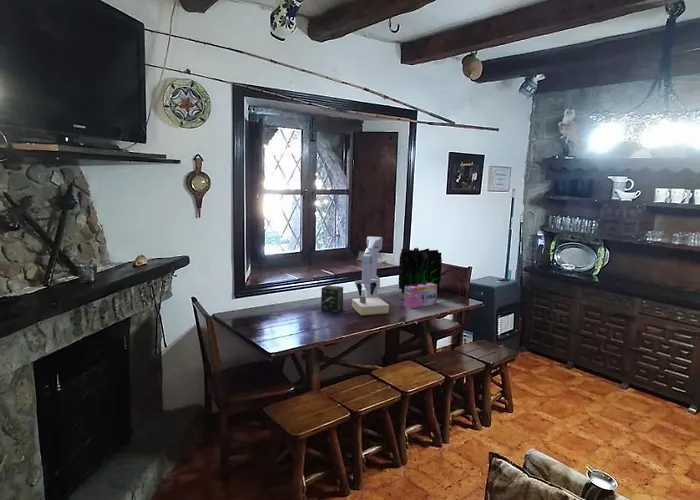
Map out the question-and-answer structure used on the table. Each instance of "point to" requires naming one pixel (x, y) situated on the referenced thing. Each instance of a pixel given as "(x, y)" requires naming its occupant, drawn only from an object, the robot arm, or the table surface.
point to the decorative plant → (419, 267)
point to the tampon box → (332, 298)
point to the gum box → (420, 295)
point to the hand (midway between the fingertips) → (365, 295)
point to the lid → (369, 302)
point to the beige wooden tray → (370, 309)
